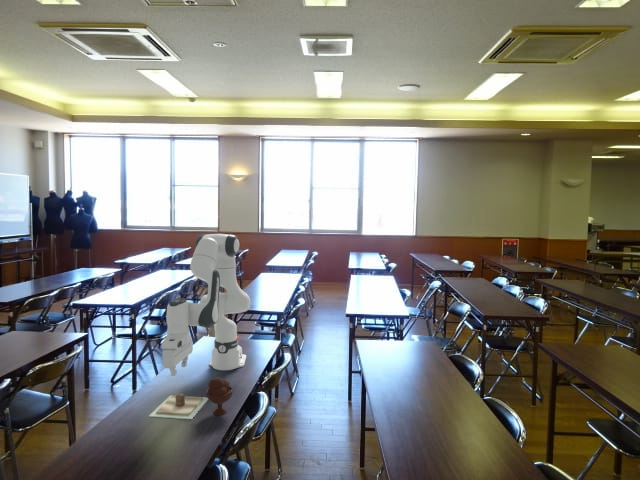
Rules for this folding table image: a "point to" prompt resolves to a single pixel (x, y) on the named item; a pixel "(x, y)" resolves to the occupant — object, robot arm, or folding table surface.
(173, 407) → the lid
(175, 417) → the lid mat
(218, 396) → the ice cream bowl
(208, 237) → the robot arm
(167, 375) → the folding table surface
